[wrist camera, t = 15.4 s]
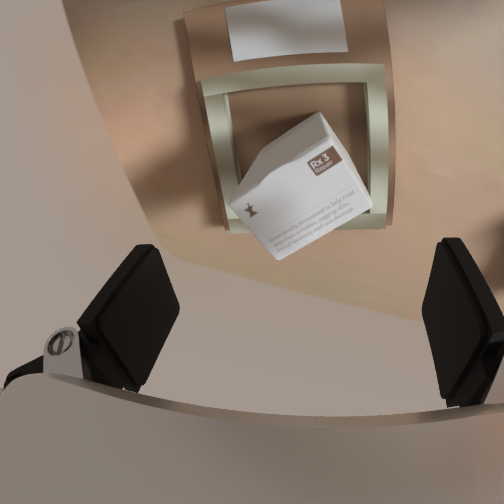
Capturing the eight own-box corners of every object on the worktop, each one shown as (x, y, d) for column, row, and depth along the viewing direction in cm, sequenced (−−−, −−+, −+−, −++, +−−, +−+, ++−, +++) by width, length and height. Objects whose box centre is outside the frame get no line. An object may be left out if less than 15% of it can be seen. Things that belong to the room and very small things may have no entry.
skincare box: (290, 186, 26) (276, 271, 16) (258, 146, 25) (220, 207, 15) (350, 149, 23) (379, 214, 13) (319, 105, 22) (328, 134, 12)
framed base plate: (189, 15, 20) (176, 10, 17) (377, -4, 16) (385, -12, 14) (228, 223, 31) (221, 238, 29) (388, 217, 28) (395, 233, 25)
